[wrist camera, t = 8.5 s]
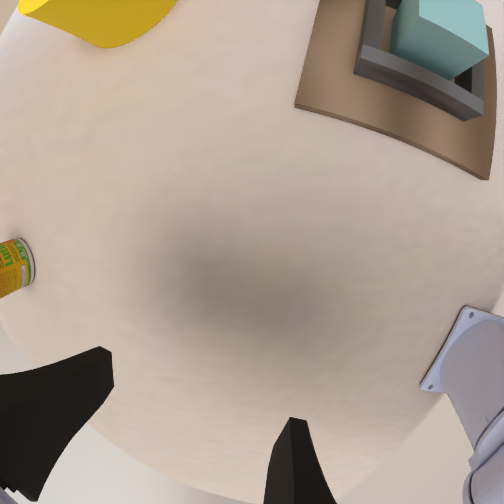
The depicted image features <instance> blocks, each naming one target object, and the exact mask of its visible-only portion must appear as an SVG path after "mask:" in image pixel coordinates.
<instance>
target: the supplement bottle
mask: <svg viewBox="0 0 504 504" xmlns="http://www.w3.org/2000/svg"><path fill="white" fill-rule="evenodd" d="M33 278H34V262H33V258H32V254H31V252H30V249H29V247H28V246H27V244H26V243H25V242H24V241H23V240H22V239H19V238H17V239H13V240H9V241H6V242H3V243H0V298H2V297H4V296H6V295H8V294H10V293H12V292H14V291H16V290H18V289H21V288H23V287H25V286H27V285H29V284H30V283H31V282H32V281H33Z"/></svg>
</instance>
